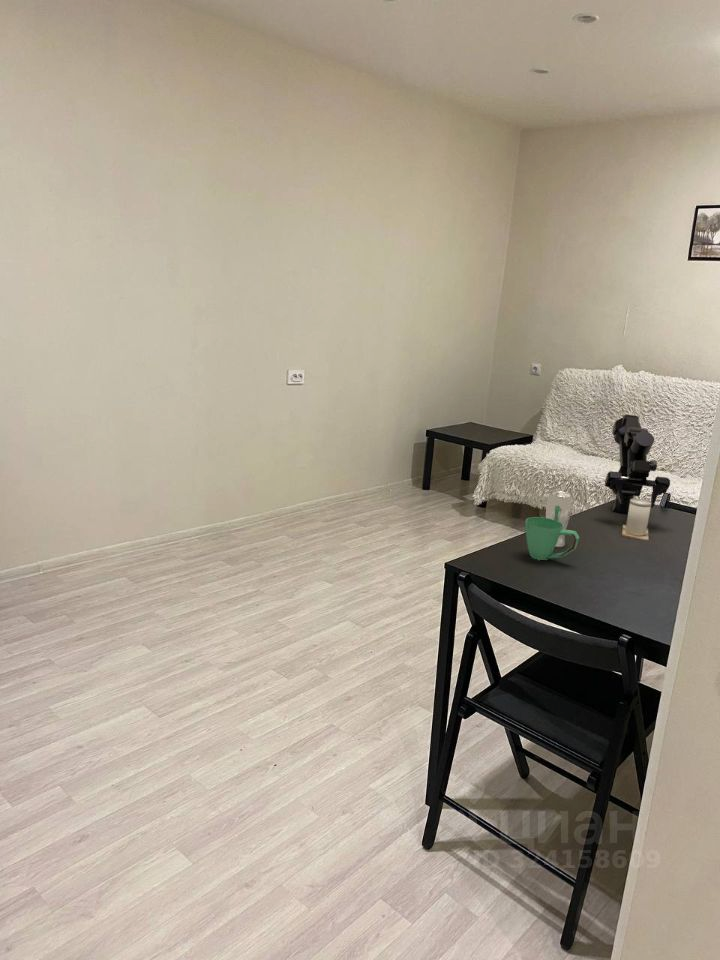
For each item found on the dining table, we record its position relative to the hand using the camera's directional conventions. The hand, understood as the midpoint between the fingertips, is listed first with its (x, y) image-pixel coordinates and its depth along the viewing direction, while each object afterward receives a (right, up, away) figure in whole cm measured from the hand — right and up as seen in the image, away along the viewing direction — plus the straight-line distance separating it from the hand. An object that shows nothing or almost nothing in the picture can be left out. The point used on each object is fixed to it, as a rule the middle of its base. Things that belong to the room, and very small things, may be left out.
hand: (636, 505), depth 227 cm
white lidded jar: (-2, -8, -3) cm, 9 cm away
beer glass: (-30, -11, -17) cm, 36 cm away
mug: (-36, -14, -30) cm, 49 cm away
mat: (-1, -9, -1) cm, 9 cm away
